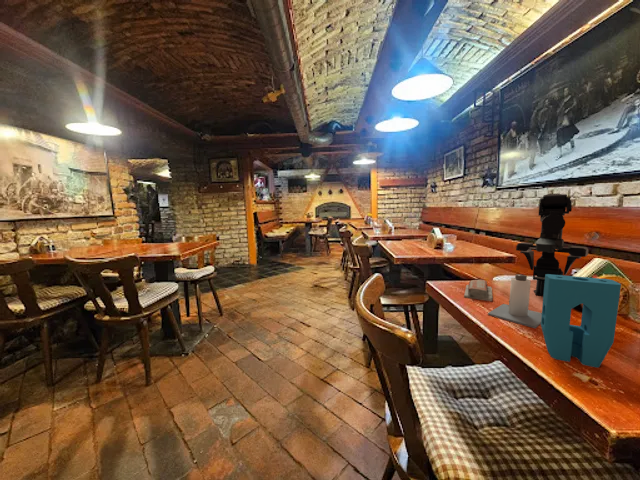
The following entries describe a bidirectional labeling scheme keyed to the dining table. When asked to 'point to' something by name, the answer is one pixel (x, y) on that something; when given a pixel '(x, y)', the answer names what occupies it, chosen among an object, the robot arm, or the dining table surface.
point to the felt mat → (530, 320)
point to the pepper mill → (519, 295)
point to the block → (595, 324)
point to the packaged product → (478, 290)
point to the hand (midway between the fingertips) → (547, 272)
